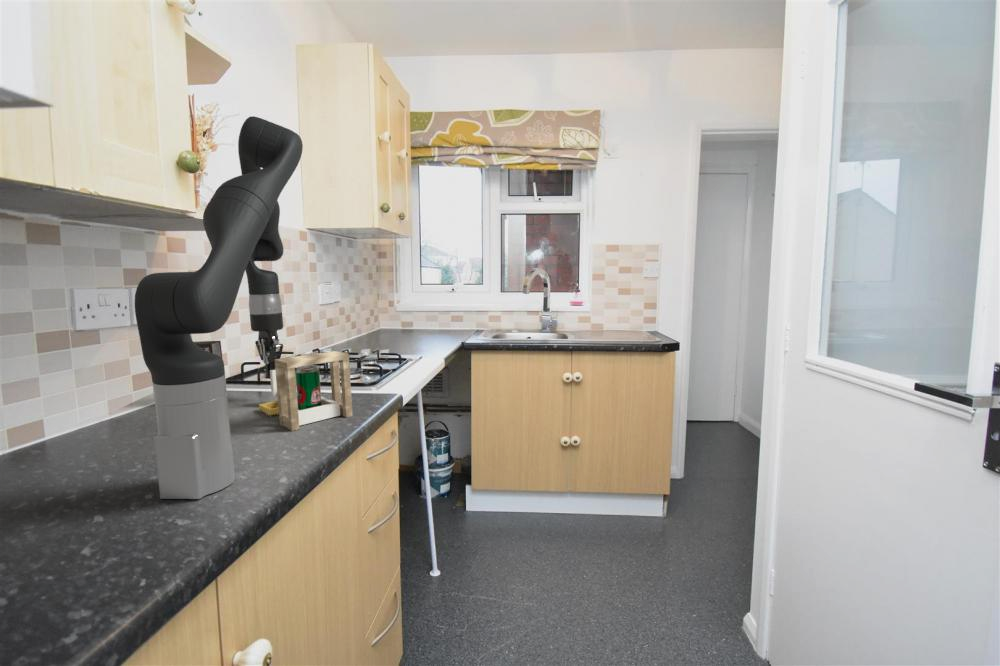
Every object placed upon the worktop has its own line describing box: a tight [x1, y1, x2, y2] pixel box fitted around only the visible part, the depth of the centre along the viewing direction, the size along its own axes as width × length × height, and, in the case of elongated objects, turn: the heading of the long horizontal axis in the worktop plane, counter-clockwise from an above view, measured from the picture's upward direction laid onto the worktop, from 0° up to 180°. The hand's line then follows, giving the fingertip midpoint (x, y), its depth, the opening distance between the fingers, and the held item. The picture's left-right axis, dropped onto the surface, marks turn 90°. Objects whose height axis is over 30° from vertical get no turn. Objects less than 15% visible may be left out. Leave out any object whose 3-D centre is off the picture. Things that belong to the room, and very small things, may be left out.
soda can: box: [295, 364, 322, 410], centre depth 106 cm, size 5×5×12 cm
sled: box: [269, 370, 341, 427], centre depth 111 cm, size 10×22×9 cm, turn 47°
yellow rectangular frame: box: [258, 400, 279, 417], centre depth 115 cm, size 12×7×2 cm, turn 137°
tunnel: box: [275, 350, 354, 432], centre depth 104 cm, size 14×6×15 cm, turn 137°
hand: (271, 377), depth 122 cm, fingers closed
